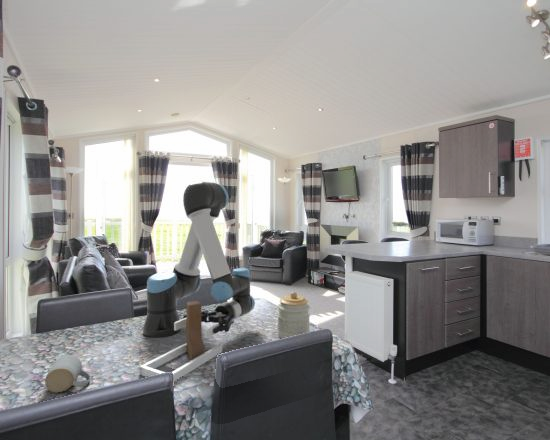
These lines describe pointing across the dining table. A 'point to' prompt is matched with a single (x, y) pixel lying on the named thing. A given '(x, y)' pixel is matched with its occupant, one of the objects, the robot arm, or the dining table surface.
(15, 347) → the dining table surface
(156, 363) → the channel
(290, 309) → the jar
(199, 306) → the wooden block
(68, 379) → the ceramic mug
